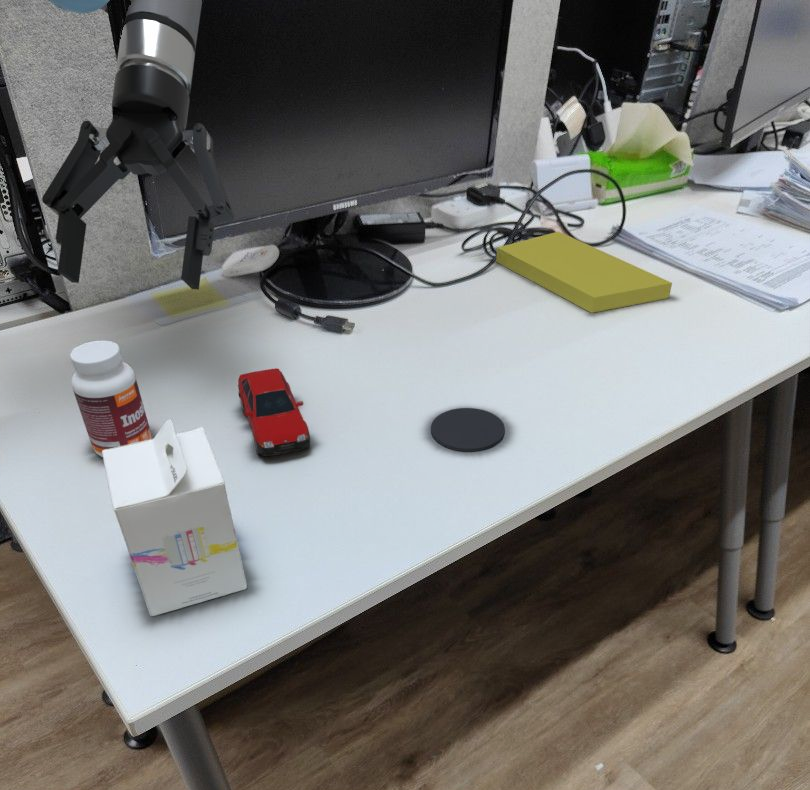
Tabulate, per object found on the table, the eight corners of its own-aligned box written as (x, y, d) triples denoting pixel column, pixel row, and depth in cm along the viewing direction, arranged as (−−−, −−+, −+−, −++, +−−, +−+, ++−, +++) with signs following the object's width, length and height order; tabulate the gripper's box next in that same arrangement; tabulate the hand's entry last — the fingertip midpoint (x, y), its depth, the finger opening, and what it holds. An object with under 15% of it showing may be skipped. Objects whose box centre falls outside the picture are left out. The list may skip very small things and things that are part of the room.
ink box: (134, 555, 69) (91, 429, 60) (226, 529, 71) (197, 405, 62) (150, 619, 63) (104, 491, 54) (249, 589, 65) (222, 462, 56)
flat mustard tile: (496, 261, 118) (603, 319, 102) (497, 247, 116) (606, 303, 101) (557, 245, 122) (668, 298, 107) (558, 231, 121) (672, 282, 105)
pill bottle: (142, 462, 79) (113, 367, 72) (84, 461, 80) (50, 366, 73) (160, 429, 84) (135, 337, 77) (106, 428, 84) (76, 336, 77)
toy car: (258, 467, 78) (250, 426, 75) (235, 398, 89) (227, 360, 85) (318, 454, 80) (313, 413, 77) (289, 388, 90) (283, 350, 87)
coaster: (417, 423, 84) (417, 420, 84) (477, 403, 87) (477, 400, 87) (456, 460, 79) (456, 456, 78) (519, 437, 82) (519, 434, 81)
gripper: (277, 109, 82) (254, 300, 81) (65, 105, 86) (40, 288, 85) (254, 61, 75) (229, 271, 74) (23, 59, 79) (-5, 259, 77)
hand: (128, 281), depth 79 cm, fingers open, 13 cm apart
